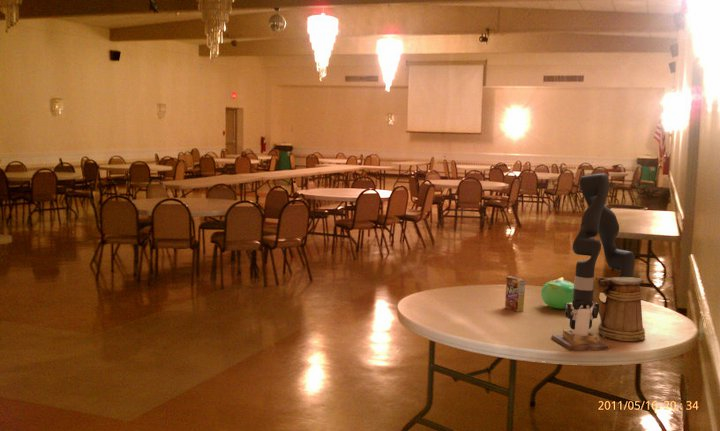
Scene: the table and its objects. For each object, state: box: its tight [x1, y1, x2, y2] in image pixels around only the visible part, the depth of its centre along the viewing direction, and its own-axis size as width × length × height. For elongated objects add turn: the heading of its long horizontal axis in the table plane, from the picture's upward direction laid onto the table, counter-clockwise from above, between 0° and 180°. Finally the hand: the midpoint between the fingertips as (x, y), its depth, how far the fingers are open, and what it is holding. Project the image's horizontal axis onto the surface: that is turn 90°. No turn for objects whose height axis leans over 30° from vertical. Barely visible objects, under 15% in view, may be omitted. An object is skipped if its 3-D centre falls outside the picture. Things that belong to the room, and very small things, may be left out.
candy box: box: [504, 275, 526, 312], centre depth 331 cm, size 9×4×15 cm, turn 31°
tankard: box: [592, 276, 646, 342], centre depth 292 cm, size 18×24×25 cm
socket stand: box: [551, 329, 609, 351], centre depth 279 cm, size 16×16×4 cm
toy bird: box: [540, 276, 574, 310], centre depth 337 cm, size 18×17×15 cm
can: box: [571, 308, 591, 336], centre depth 278 cm, size 6×6×12 cm
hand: (580, 328), depth 279 cm, fingers closed on can, 6 cm apart
